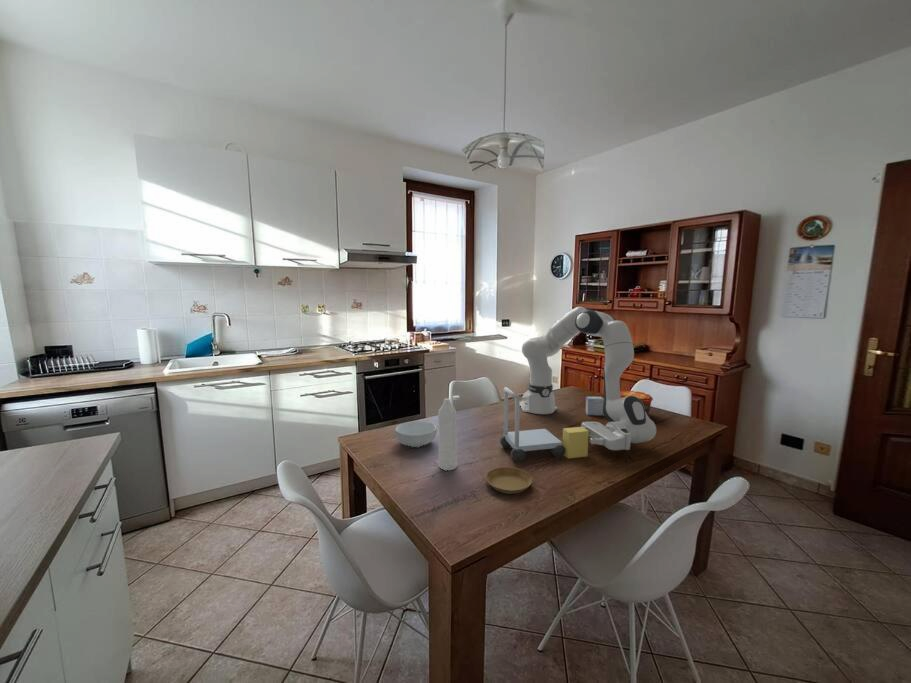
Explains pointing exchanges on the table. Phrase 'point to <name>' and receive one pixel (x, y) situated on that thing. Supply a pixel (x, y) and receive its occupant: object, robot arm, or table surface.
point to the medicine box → (594, 405)
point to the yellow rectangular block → (575, 442)
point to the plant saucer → (509, 480)
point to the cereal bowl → (416, 433)
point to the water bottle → (447, 435)
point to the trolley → (527, 435)
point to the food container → (642, 396)
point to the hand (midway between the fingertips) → (583, 436)
